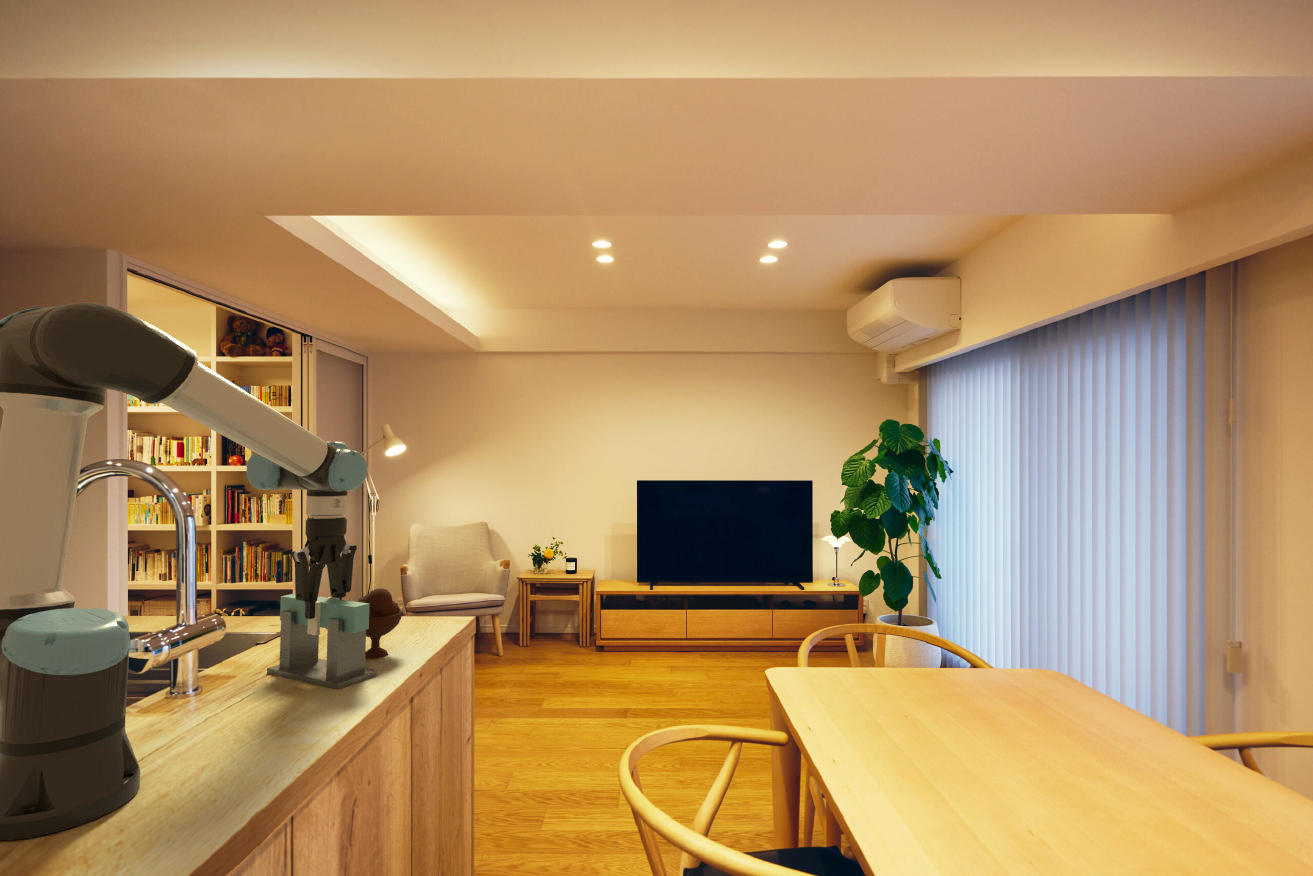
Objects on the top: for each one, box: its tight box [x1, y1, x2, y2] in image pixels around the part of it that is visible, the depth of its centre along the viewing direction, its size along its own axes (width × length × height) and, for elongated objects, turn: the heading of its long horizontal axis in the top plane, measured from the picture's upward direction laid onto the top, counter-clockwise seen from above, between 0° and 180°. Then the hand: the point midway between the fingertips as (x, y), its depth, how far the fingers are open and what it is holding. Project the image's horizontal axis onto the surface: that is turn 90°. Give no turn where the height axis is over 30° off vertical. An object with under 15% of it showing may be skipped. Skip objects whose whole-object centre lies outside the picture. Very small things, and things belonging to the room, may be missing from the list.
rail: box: [279, 593, 369, 633], centre depth 130 cm, size 22×4×5 cm, turn 65°
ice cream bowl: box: [356, 588, 403, 660], centre depth 143 cm, size 11×11×15 cm
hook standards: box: [266, 610, 378, 690], centre depth 130 cm, size 9×21×12 cm, turn 65°
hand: (322, 631), depth 130 cm, fingers closed on rail, 3 cm apart
